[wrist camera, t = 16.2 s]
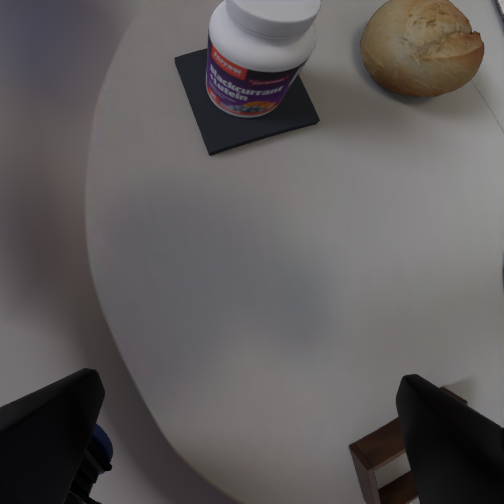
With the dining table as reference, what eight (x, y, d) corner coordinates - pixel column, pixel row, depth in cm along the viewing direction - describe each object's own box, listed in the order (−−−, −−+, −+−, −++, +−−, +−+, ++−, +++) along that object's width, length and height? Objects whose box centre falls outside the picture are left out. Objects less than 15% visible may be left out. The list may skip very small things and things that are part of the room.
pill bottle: (195, 109, 18) (192, 15, 8) (217, 48, 18) (230, -50, 8) (275, 129, 19) (331, 51, 9) (290, 67, 19) (341, -20, 9)
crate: (364, 499, 23) (378, 521, 19) (348, 445, 22) (367, 470, 18) (442, 449, 25) (461, 465, 21) (442, 386, 23) (467, 401, 20)
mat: (209, 156, 19) (209, 152, 18) (175, 63, 18) (174, 57, 18) (316, 124, 20) (320, 120, 19) (275, 39, 19) (277, 34, 19)
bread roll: (462, 70, 22) (509, 44, 15) (406, 132, 21) (472, 102, 13) (405, 5, 21) (443, -31, 13) (328, 47, 20) (371, -10, 12)
